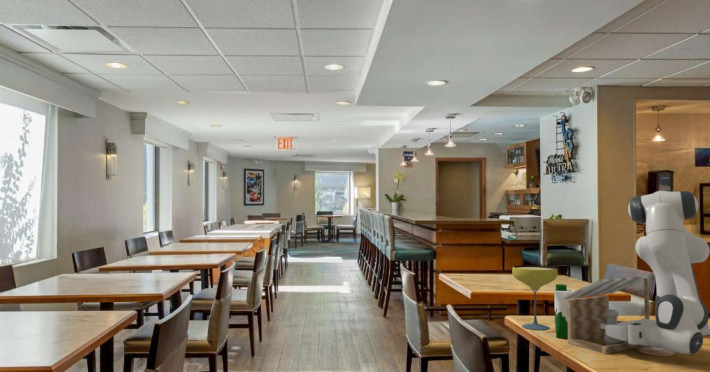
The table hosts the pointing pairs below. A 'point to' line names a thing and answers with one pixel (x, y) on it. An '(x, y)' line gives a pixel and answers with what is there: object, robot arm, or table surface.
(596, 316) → the cold frame
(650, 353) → the terracotta saucer
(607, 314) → the salt shaker
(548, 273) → the cocktail glass
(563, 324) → the milk carton
